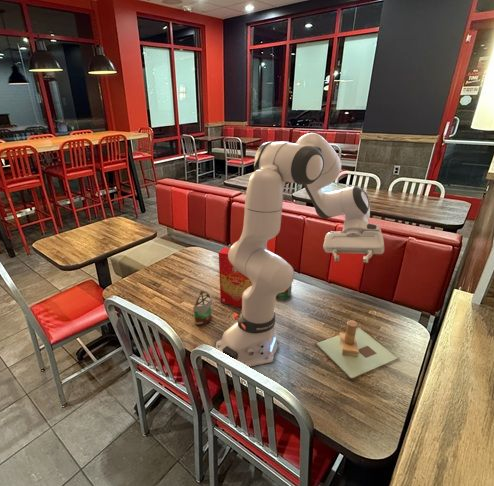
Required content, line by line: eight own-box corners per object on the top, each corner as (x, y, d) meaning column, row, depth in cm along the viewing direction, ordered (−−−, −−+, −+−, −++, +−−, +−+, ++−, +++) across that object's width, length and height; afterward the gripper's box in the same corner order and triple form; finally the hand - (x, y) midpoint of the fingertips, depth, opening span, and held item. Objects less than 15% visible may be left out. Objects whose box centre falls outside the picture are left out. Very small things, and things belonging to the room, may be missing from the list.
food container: (209, 329, 123) (208, 308, 118) (194, 327, 124) (193, 307, 120) (215, 310, 134) (214, 290, 129) (202, 308, 135) (200, 289, 130)
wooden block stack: (338, 337, 114) (342, 314, 110) (353, 338, 113) (357, 315, 109) (342, 355, 106) (346, 331, 102) (357, 357, 105) (362, 333, 101)
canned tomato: (289, 291, 144) (291, 270, 139) (292, 301, 137) (293, 280, 132) (272, 291, 144) (273, 270, 140) (273, 301, 137) (274, 279, 133)
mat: (351, 380, 98) (351, 378, 98) (315, 344, 112) (316, 343, 112) (397, 360, 104) (398, 358, 104) (358, 329, 119) (358, 327, 118)
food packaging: (220, 302, 138) (218, 252, 128) (225, 296, 142) (223, 247, 132) (252, 309, 133) (253, 258, 122) (256, 302, 137) (256, 252, 126)
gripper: (324, 226, 120) (318, 254, 113) (384, 225, 109) (382, 256, 102) (327, 237, 124) (321, 265, 117) (385, 237, 113) (383, 267, 106)
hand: (350, 261), depth 109 cm, fingers open, 8 cm apart
